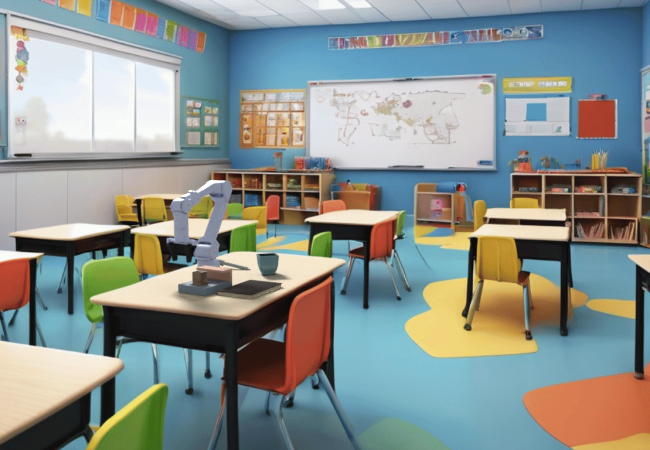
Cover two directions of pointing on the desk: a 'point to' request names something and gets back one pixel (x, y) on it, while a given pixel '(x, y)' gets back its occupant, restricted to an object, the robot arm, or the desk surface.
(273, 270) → the flower pot
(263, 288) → the hardcover book
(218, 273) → the salmon pink block
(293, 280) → the desk surface
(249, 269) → the caliper
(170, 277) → the desk surface
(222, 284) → the socket block
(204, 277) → the walnut peg
